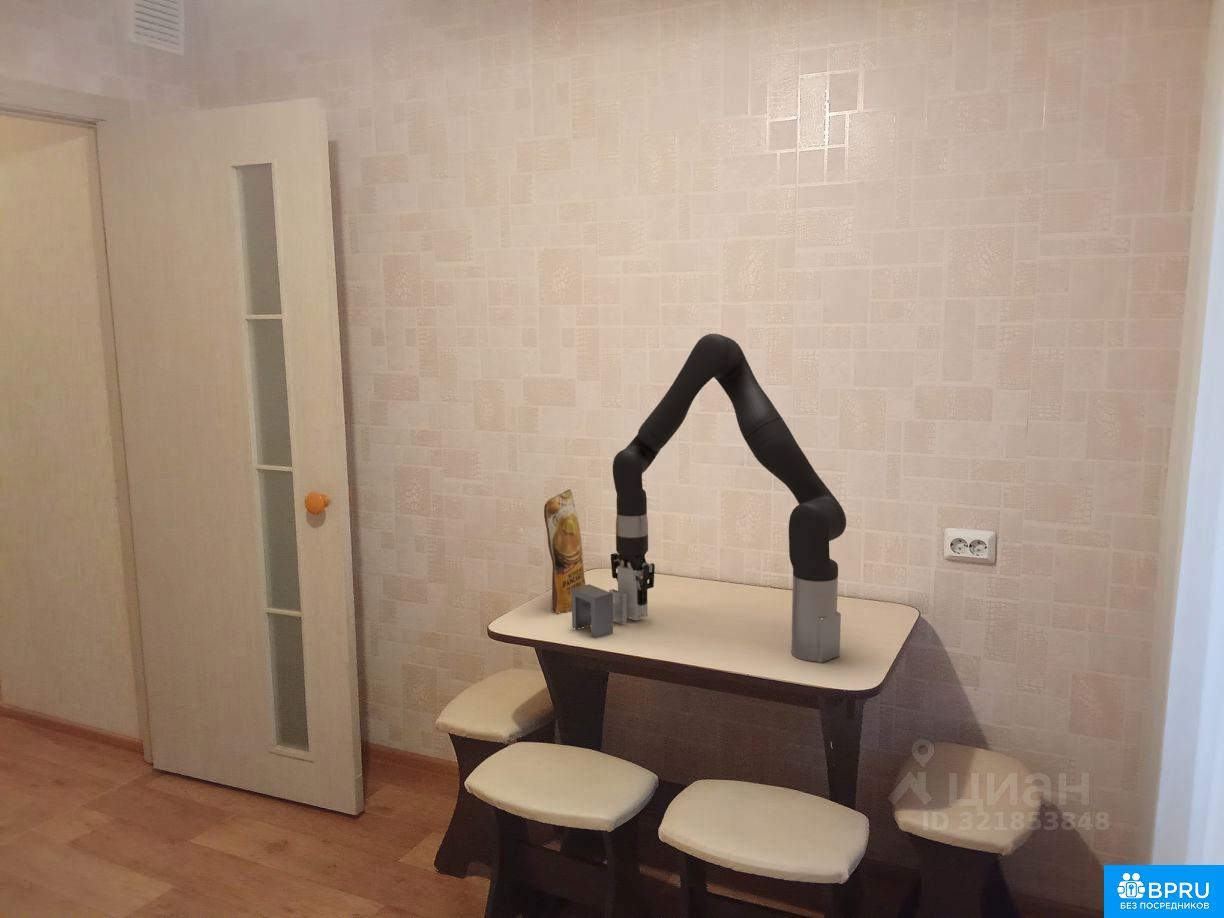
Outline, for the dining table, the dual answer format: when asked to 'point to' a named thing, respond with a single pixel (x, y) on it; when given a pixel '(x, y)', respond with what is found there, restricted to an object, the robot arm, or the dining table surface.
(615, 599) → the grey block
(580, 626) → the grey hollow block
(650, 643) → the dining table surface
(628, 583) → the skincare box
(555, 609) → the pancake mix bag
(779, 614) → the dining table surface
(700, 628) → the dining table surface
